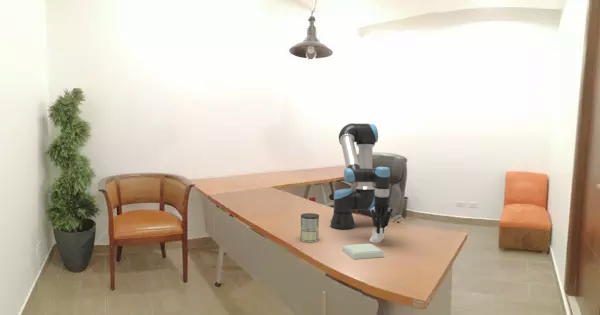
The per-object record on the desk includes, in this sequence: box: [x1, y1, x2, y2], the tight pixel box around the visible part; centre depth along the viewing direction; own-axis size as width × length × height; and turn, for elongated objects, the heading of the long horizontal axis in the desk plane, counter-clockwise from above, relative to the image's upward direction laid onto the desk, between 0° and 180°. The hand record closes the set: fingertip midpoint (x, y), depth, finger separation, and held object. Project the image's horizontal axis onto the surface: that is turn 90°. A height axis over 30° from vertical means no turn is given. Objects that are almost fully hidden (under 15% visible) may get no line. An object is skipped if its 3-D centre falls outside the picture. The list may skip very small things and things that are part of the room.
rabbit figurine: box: [368, 227, 388, 244], centre depth 222 cm, size 12×8×10 cm, turn 117°
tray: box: [342, 243, 385, 260], centre depth 201 cm, size 14×16×3 cm
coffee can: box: [300, 212, 320, 243], centre depth 225 cm, size 10×10×14 cm
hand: (379, 239), depth 216 cm, fingers closed
